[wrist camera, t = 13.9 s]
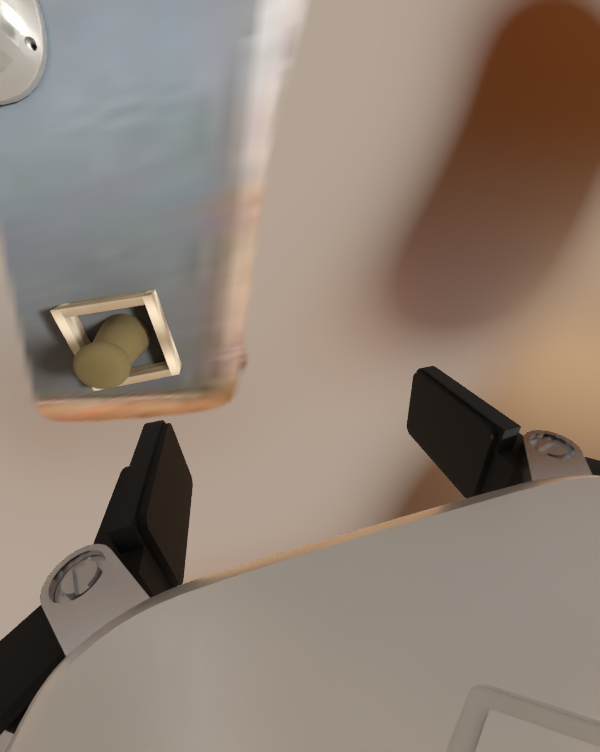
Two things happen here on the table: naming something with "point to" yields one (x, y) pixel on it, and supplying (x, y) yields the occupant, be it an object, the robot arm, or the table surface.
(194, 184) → the table surface
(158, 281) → the table surface
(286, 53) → the table surface
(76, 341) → the beige square frame
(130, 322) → the cork
